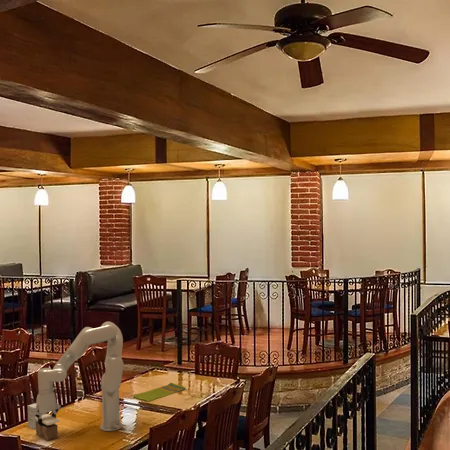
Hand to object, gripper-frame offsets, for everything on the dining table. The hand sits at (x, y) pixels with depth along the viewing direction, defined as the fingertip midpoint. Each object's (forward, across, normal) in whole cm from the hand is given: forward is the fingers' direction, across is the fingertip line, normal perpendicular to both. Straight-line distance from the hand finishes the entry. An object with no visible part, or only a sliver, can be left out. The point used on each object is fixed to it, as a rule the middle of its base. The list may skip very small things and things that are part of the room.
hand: (47, 423), depth 310 cm
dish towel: (+9, -90, -19) cm, 92 cm away
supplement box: (+7, -2, -20) cm, 21 cm away
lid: (-2, 0, 0) cm, 2 cm away
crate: (+7, 0, 0) cm, 7 cm away
